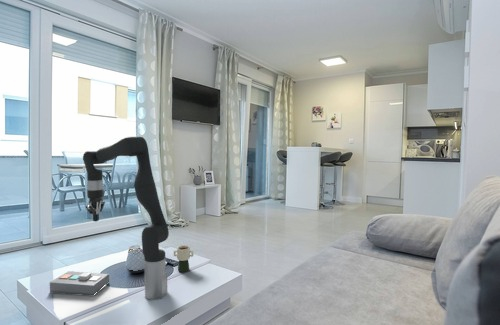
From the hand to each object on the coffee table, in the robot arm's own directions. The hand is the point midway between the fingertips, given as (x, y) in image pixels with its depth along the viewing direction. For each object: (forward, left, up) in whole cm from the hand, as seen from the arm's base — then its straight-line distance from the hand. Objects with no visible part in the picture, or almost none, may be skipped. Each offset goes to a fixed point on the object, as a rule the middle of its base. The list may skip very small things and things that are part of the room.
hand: (96, 221), depth 154 cm
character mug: (-44, -11, -29) cm, 54 cm away
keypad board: (-2, +15, -29) cm, 33 cm away
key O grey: (-4, +15, -26) cm, 30 cm away
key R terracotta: (+6, +15, -28) cm, 32 cm away
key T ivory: (-9, +15, -28) cm, 33 cm away
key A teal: (+1, +15, -28) cm, 31 cm away
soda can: (-16, -10, -29) cm, 35 cm away
